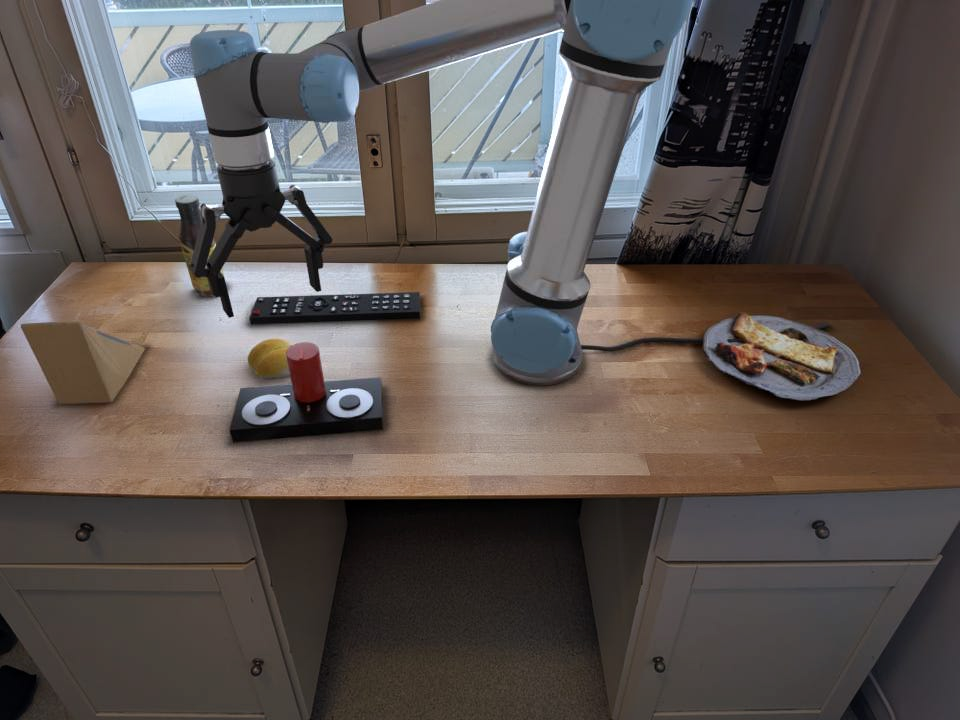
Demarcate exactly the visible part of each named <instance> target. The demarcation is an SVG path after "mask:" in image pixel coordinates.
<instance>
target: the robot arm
mask: <svg viewBox="0 0 960 720" xmlns="http://www.w3.org/2000/svg"><path fill="white" fill-rule="evenodd" d="M693 3H694V0H436V1H433V2H430V3H427V4H424V5H421V6H418V7H415V8H413V9H409V10H406V11H403V12H400V13H398V14H395V15H391V16H389V17H385V18H383V19H380V20H377V21H374V22H371V23H368V24H365V25H364V26H360V27H356V28H353V29H351V30H342V31H338V32H336V33H333V34H331V35H329V36H327V37H326V38H325V39H324V40H321V41H320V42H318V43H316V44H314V45H312V46H309V47H308V48H306V49H304V50H301V51H300V52H296V53H295V52H294V53H283V52H282V53H279V52H264V51H258V49H257V46H256V44H255V40H254V37H253V36H252V35H251V34H250V33H249V32H248V31H243V30H242V31H241V30H236V29H217V30H209V31H203V32H199V33H197V34H195V35H193V36H192V37H191V39H190V41H189V49H190V50H189V51H190V56H191V62H192V68H193V77H194V79H195V81H196V82H195V83H196V87H197V89H198V93H199V97H200V101H201V106H202V109H203V113H204V117H205V120H206V126H207V131H208V136H209V141H210V145H211V149H212V150H211V151H212V154H213V159H214V162H215V163H216V164H218V165H217V166H216V173H217V177H218V181H219V186H220V190H221V194H222V203H221V204H212V205H211V204H208V203H206V202H203V203H201V204H200V206H199V208H200V212H201V218H202V221H201V224H200V228H199V232H198V236H197V240H196V244H195V248H194V252H193V256H192V260H191V263H190V270H191V271H192V272H193V274H194V275H195V277H197V278H201V277H207V280H208V283H209V287H210V291H211V292H212V294H213V297H214V298H215V299H216V298H219V300H220V302H221V307H222V311H224V313H225V315H226V316H227V317H228V319H230V318H233V317H235V315H234V311H233V306H232V303H231V299H230V295H229V294H230V293H229V290H228V286H227V282H226V278H225V275H224V276H223V275H222V273H221V272H220V271H221V269H222V270H223V267H224V265H225V264H226V262H227V260H228V259H229V257H230V255H231V254H232V252H233V250H234V248H235V246H236V244H237V242H238V241H239V240H240V238H242V237H243V235H244V234H245V232H246V231H248V232H250V233H252V232H256V231H258V230H259V229H268V228H272V226H273V225H274V224H275V223H278V224H279V225H281V226H282V227H283V228H285V229H286V230H287V231H289V232H290V233H292V234H293V235H294V236H295V237H297V238H298V239H300V240H301V241H302V242H304V243H305V244H306V245H307V246H304V247H303V250H304V256H305V262H306V268H307V275H308V281H309V286H311V288H312V290H314V291H315V292H317V293H318V292H322V285H321V279H320V271H319V270H320V269H324V259H323V252H324V250H325V246H326V245H330V244H332V243H333V238H332V236H331V235H330V233H329V232H328V231H327V230H326V228H325V227H324V225H323V224H322V222H321V220H319V219H318V217H317V216H316V214H315V213H314V212H313V210H312V209H311V207H310V206H309V205H308V203H307V199H306V196H305V193H304V191H303V190H302V189H301V188H300V187H299V186H298V185H296V184H291V185H289V187H288V188H287V189H285V190H282V191H281V188H280V181H279V176H278V171H277V166H276V165H277V164H276V162H275V161H274V160H273V158H274V157H275V152H274V148H273V142H272V137H271V132H270V125H269V120H268V119H275V120H276V119H278V120H288V121H289V120H290V121H291V120H292V121H304V122H316V123H321V124H329V123H345V122H348V121H350V120H352V119H353V118H354V116H355V114H356V111H357V108H358V106H359V100H360V92H364V91H367V90H371V89H373V88H376V87H379V86H382V85H385V84H387V83H392V82H394V81H398V80H401V79H405V78H409V77H411V76H414V75H418V74H421V73H425V72H428V71H432V70H435V69H438V68H441V67H446V66H449V65H451V64H455V63H458V62H462V61H465V60H468V59H472V58H475V57H478V56H482V55H486V54H489V53H492V52H496V51H500V50H502V49H505V48H508V47H512V46H515V45H519V44H522V43H525V42H529V41H532V40H535V39H538V38H542V37H545V36H548V35H553V34H555V33H558V32H559V33H560V32H562V37H561V41H560V45H559V49H558V55H559V57H560V59H561V61H562V63H563V65H564V66H565V69H566V72H567V73H566V77H565V82H564V86H563V89H562V93H561V97H560V101H559V105H558V109H557V112H556V118H555V120H554V126H553V128H552V129H553V130H552V133H551V137H550V141H549V145H548V148H547V153H546V157H545V160H544V161H545V162H544V165H543V169H542V172H541V177H540V181H539V184H538V187H537V192H536V196H535V200H534V205H533V209H532V213H531V216H530V220H529V224H528V228H527V231H523V232H519V233H517V234H515V235H513V236H512V237H511V238H510V240H509V242H508V249H507V251H506V255H507V267H506V270H505V275H504V279H503V283H502V286H501V287H502V288H501V290H500V294H499V300H498V303H497V307H496V312H495V315H494V319H493V320H492V322H491V324H490V342H491V347H492V348H493V361H494V364H495V367H496V368H497V369H498V371H499V372H501V374H503V375H504V376H506V377H507V378H509V379H511V380H513V381H516V382H519V383H522V384H526V385H531V386H532V385H533V386H548V385H549V386H551V385H555V384H561V383H563V382H566V381H569V380H570V379H572V378H573V377H575V375H577V374H578V373H579V371H580V370H581V367H582V363H583V362H582V361H583V350H587V351H600V352H615V351H620V350H624V349H627V348H630V347H632V346H635V345H638V344H643V343H645V344H646V343H657V342H659V343H660V342H661V343H678V344H679V343H681V344H683V343H684V344H685V343H687V344H703V338H689V337H688V338H685V337H663V336H662V337H661V336H659V337H657V336H656V337H643V338H638V339H634V340H630V341H628V342H625V343H623V344H619V345H614V346H603V345H591V344H581V341H580V336H579V334H578V327H579V323H580V320H581V317H582V314H583V311H584V308H585V305H586V302H587V299H588V297H589V292H590V289H591V281H590V279H589V276H588V275H587V274H586V272H585V268H586V266H587V262H588V259H589V256H590V253H591V249H592V246H593V244H594V240H595V237H596V234H597V231H598V228H599V225H600V222H601V219H602V216H603V212H604V209H605V207H606V203H607V201H608V197H609V194H610V191H611V188H612V184H613V181H614V178H615V175H616V173H617V169H618V166H619V163H620V160H621V156H622V153H623V151H624V148H625V145H626V141H627V138H628V135H629V131H630V129H631V126H632V123H633V119H634V116H635V114H636V111H637V107H638V103H639V101H640V98H641V95H642V92H643V91H644V90H645V89H646V88H648V87H650V86H651V85H653V84H654V83H656V82H658V81H659V80H661V78H662V74H663V71H664V68H665V65H666V63H667V60H668V58H669V55H670V51H671V49H672V45H673V43H674V39H675V38H676V37H677V35H678V34H679V32H680V31H681V30H682V28H683V27H684V24H685V22H686V21H687V19H688V18H689V15H690V12H691V10H692V6H693ZM286 201H288V203H290V204H291V205H293V206H295V207H296V208H297V210H298V211H299V212H300V214H301V215H302V217H303V218H304V219H305V221H306V222H307V223H308V224H309V226H310V227H311V229H312V230H313V231H314V232H315V234H316V236H312V235H310V233H308V232H307V231H305V230H304V229H303V228H301V227H300V226H299V225H297V223H295V222H294V221H292V220H291V219H290V218H288V217H287V216H286V215H284V214H283V213H282V209H283V207H284V205H285V203H286ZM224 214H225V215H226V217H228V220H227V222H226V224H225V229H224V230H223V232H222V234H221V236H220V238H219V240H218V241H217V243H216V247H215V248H214V250H213V252H212V254H211V255H210V257H209V259H208V256H209V252H210V248H211V245H212V241H213V237H215V233H216V229H217V223H219V221H220V220H221V217H222V215H224ZM207 260H208V261H207ZM830 326H831V324H830V323H829V322H827V323H823V324H820V325H816V326H813V327H814V328H817V329H819V330H823V329H827V328H830ZM815 330H816V329H815ZM819 330H818V331H819ZM727 341H728V342H729V343H732V342H738V343H741V342H742V340H741V339H727Z"/></svg>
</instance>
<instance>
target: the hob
mask: <svg viewBox="0 0 960 720" xmlns="http://www.w3.org/2000/svg"><path fill="white" fill-rule="evenodd" d="M324 383H325V389H326V393H325V395H324V396H323V397H322V398H321V399H319V400H317V401H315V402H310V403H304V402H300V401H298V400H297V399H296V398H295V396H294V391H293V387H292V383H288V384H275V385H263V386H250V387H249V386H248V387H240V388H239V391H238V395H237V398H236V404H235V407H234V411H233V415H232V418H231V422H230V426H229V430H228V431H229V434H230V437H231V440H232V443H234V444H235V443H245V442H246V443H247V442H259V441H270V440H281V439H282V440H283V439H292V438H293V439H294V438H304V437H316V436H317V437H318V436H326V435H339V434H341V435H342V434H351V433H362V432H374V431H376V432H377V431H384V407H383V402H384V401H383V383H382V377H367V378H366V377H365V378H354V379H353V378H352V379H341V380H340V379H339V380H328V381H327V380H326V381H324ZM350 388H357V389H362V390H365V391H367V392H368V393H369V394H370V395H371V396H372V398H373V405H372V407H371V409H370V410H369V411H368V412H367V413H365V414H364V415H362V416H359V417H356V418H351V419H342V418H337V417H335V416H333V415H331V414H330V413H329V412H328V410H327V406H326V404H327V401H328V399H329V398H330V397H331V396H332V395H333V394H334V393H336V392H338V391H341V390H344V389H350ZM264 395H279V396H283V397H285V398H286V399H287V400H288V401H289V403H290V411H289V413H288V415H287V416H286V417H285V418H283V419H282V420H281V421H279V422H277V423H274V424H271V425H266V426H255V425H251V424H249V423H247V422H246V421H245V420H244V419H243V417H242V410H243V408H244V407H245V405H246V404H247V403H248V402H250V401H251V400H253V399H255V398H257V397H260V396H264Z"/></svg>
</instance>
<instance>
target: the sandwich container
mask: <svg viewBox="0 0 960 720" xmlns="http://www.w3.org/2000/svg"><path fill="white" fill-rule="evenodd" d="M20 329H21V332H22V333H23V335H24V337H25V339H26V341H27V344H28V345H29V347H30V349H31V351H32V353H33V355H34V357H35V360H36V361H37V363H38V365H39V367H40V369H41V372H42V373H43V376H44V377H45V379H46V381H47V383H48V385H49V387H50V389H51V391H52V393H53V395H54V397H55V399H56V400H57V402H58V404H59V405H75V404H104V403H105V404H106V403H112V402H113V401H114V400H115V398H116V397H117V395H118V394H119V392H121V389H122V388H123V386H124V385H125V383H126V382H127V381H128V379H129V377H130V375H131V374H132V372H133V371H134V369H135V367H136V366H137V364H138V362H139V360H140V359H141V357H142V355H143V354H144V352H145V350H146V348H145V347H143V346H140V345H138V344H135V343H131V342H129V341H127V340H124V339H121V338H119V337H115V336H113V335H111V334H108V333H105V332H102V331H101V330H98V329H96V328H94V327H91V326H89V325H87V324H84V323H82V322H79V321H44V322H27V323H21V324H20Z"/></svg>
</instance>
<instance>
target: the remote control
mask: <svg viewBox="0 0 960 720" xmlns="http://www.w3.org/2000/svg"><path fill="white" fill-rule="evenodd" d="M393 320H394V321H399V320H421V292H420V291H411V292H410V291H409V292H408V291H407V292H379V293H376V292H375V293H349V294H348V293H346V294H317V295H315V294H314V295H286V296H285V295H283V296H257V297H256V300H255V302H254V304H253V307H252V309H251V311H250V315H249V322H250V326H253V325H255V326H257V325H284V324H285V325H286V324H308V323H309V324H312V323H314V324H315V323H338V322H365V321H366V322H367V321H371V322H372V321H393Z"/></svg>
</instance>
